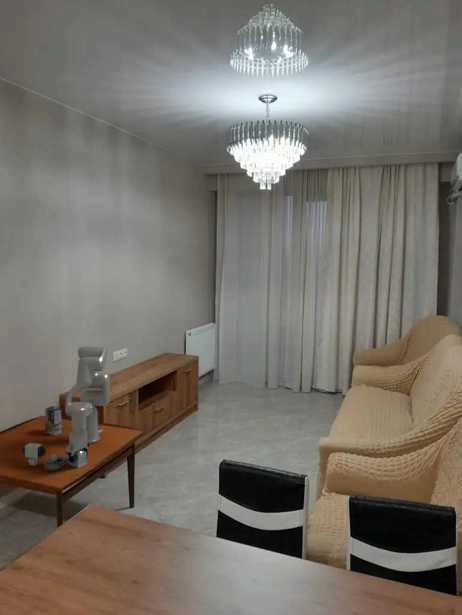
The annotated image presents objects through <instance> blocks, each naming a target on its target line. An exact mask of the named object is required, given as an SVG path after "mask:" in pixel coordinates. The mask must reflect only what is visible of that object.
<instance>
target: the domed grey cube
mask: <svg viewBox="0 0 462 615" xmlns="http://www.w3.org/2000/svg"><path fill="white" fill-rule="evenodd" d="M72 452H73V451H72ZM72 452H71V453H72ZM73 456H74V463H71V462H69V463H70V464H69V465H70V466H71V467H75V468H78V469H79V468H81V467H83V466H86V465H87V457H88V451H87V452H86V451H84V449H80V450H78V451H76V452H75V453H74V455H73Z"/></svg>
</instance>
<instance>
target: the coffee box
mask: <svg viewBox="0 0 462 615" xmlns="http://www.w3.org/2000/svg"><path fill="white" fill-rule="evenodd" d="M46 433H47V434H48V433H49V435H50V436H51V435H52V436H57V435H58V436H59V435H61V434H63V408H62V407H58V406H54V405H53V406H50V407H46V408H45V434H46Z"/></svg>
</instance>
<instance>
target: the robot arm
mask: <svg viewBox="0 0 462 615" xmlns="http://www.w3.org/2000/svg"><path fill="white" fill-rule="evenodd" d="M108 353H109V352H108V349H107V348H106V347H104V346H88V345H87V346H79V347H78V348H77V355H78V358H79V360H78V362H77V373H76V383H75V384H74V385H73V386H72V387H71V388H70V389H69V391H68V393H67V395H66V399H65V400H66V401H65V410H64V412H65V414H66V416H70V417H71V427H70V428H71V429H70V430H71V432H70V433H69V437H68V445H67V447H66V448H65V450H64V451H65V453H66V455H67V456H68V455H69V462H68V463H70V462H71V463H74V456H73V455H74V453H75V452H76V451H78V450H80V449H84V451H86V452H87V453H88V450H89V447H90V444H93V443H97V442H98V441H100V439H101V436H100V434H101V433H103V431H104V430H103V429H98V426H99V424H98V423H99V421H98V420H99V419H98V416H99V415H98V414H99V411H98V410H97V408H96V407H97V406H98V407H99V406H101V407H103V406H105V407H106V406H108V405H109V404H110V400H111V399H110V398H111V379H110V374H108V372H102V371H104V368H105V366H106V362H107V359H108ZM85 388H87V389H85ZM83 389H85V390H83ZM81 390H83V391H82V392H81V393H80V395H79V396H80V398H79V400H80V401H73V397H74V395H75V394H76V393H78V392H79V391H81ZM71 452H72V453H71Z"/></svg>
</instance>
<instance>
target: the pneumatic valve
mask: <svg viewBox="0 0 462 615" xmlns="http://www.w3.org/2000/svg"><path fill="white" fill-rule="evenodd" d="M21 452H22V454H23V457H24V458H28V465H29V466H36V465H39V464H40V459H41V458H42V457H44V456H45V455H46V453H47V450H46V447H45V445H44V444H43V443H39V442H38V443H37V442H36V443H35V442H28V443H26V444H25V445H23V447H22V448H21Z"/></svg>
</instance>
